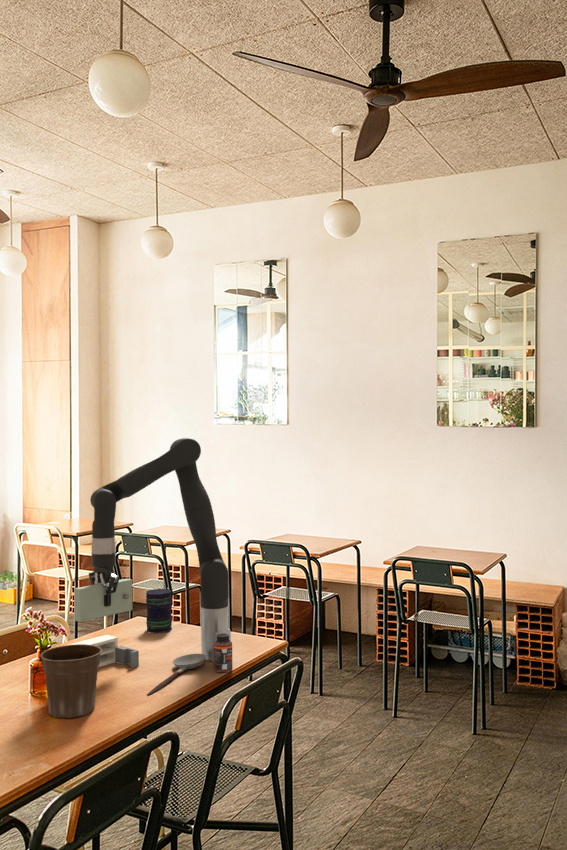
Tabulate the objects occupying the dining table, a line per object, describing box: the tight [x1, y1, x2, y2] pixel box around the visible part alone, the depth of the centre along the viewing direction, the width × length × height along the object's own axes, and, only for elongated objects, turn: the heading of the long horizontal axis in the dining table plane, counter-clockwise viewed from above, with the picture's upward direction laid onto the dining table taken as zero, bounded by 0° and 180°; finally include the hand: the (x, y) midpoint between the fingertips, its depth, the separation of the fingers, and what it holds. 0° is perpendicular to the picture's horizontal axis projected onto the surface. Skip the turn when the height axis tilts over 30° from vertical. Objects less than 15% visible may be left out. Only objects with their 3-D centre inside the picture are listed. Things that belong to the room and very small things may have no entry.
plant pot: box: [40, 644, 102, 719], centre depth 201 cm, size 16×16×16 cm
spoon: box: [146, 653, 206, 697], centre depth 227 cm, size 11×33×3 cm, turn 161°
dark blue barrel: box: [145, 588, 173, 634], centre depth 285 cm, size 10×10×15 cm
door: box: [73, 578, 133, 623], centre depth 234 cm, size 4×20×10 cm, turn 139°
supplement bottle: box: [213, 633, 233, 674], centre depth 233 cm, size 6×6×11 cm
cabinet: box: [64, 634, 140, 669], centre depth 236 cm, size 16×23×8 cm
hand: (104, 605), depth 234 cm, fingers closed on door, 3 cm apart
